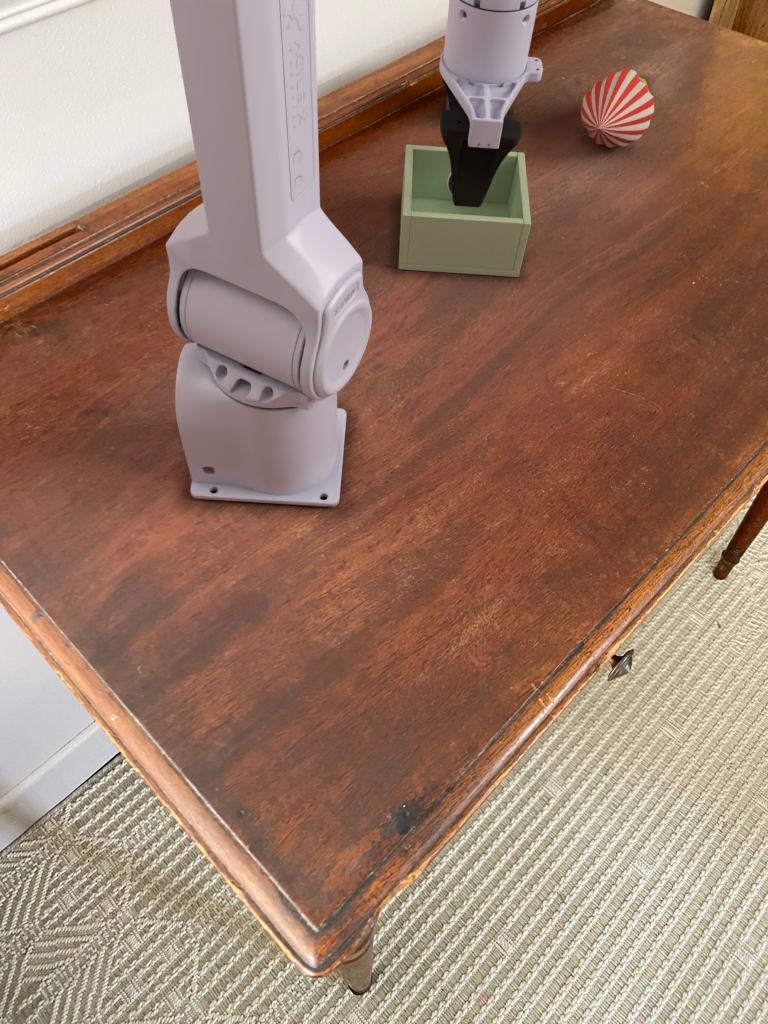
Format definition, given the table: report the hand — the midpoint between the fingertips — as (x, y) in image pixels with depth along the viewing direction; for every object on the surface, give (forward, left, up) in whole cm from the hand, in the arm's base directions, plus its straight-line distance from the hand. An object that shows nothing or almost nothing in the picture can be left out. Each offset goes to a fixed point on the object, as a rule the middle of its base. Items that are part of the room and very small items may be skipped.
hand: (466, 181), depth 62 cm
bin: (0, 0, -5) cm, 5 cm away
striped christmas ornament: (+16, +18, -5) cm, 25 cm away
